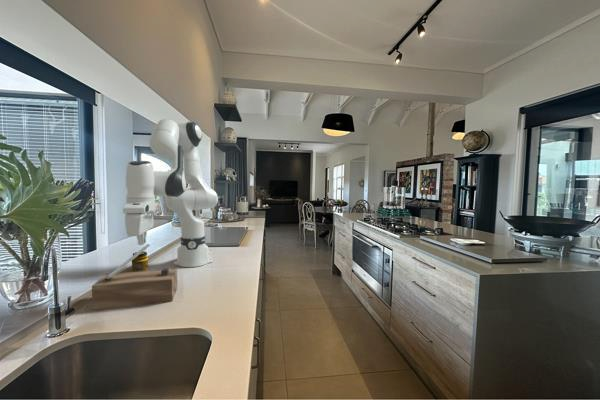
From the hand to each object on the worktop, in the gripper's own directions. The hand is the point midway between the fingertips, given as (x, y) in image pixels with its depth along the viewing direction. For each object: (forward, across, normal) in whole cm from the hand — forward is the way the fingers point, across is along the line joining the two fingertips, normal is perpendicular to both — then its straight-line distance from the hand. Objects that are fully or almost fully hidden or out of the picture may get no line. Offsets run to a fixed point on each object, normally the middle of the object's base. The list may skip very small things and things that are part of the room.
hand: (142, 244), depth 96 cm
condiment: (+20, -19, -6) cm, 28 cm away
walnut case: (+20, 0, -2) cm, 20 cm away
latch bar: (+7, 0, -4) cm, 8 cm away
